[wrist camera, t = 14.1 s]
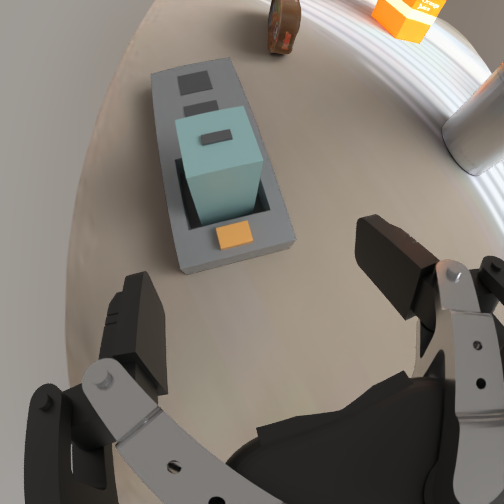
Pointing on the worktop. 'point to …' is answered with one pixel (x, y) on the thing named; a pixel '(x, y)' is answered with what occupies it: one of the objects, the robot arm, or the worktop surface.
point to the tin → (283, 25)
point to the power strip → (174, 179)
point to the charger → (220, 163)
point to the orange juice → (407, 17)
